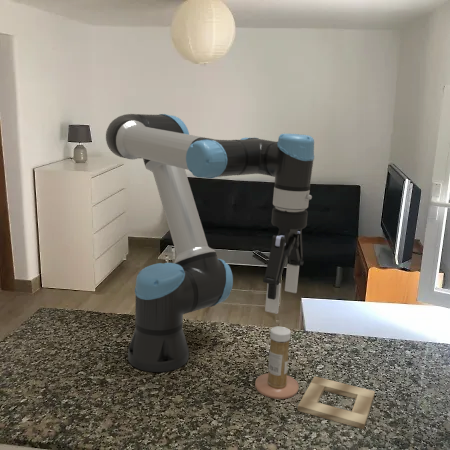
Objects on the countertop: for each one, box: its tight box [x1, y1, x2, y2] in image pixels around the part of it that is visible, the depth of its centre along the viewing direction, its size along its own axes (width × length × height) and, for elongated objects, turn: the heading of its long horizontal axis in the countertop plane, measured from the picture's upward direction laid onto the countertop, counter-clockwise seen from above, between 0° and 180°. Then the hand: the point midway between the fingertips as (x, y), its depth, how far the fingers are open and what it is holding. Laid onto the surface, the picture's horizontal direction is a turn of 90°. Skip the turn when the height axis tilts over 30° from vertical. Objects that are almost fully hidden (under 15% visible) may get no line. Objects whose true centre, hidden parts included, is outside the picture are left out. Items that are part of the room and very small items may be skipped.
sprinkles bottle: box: [267, 325, 292, 388], centre depth 119 cm, size 5×5×14 cm
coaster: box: [254, 372, 300, 400], centre depth 121 cm, size 10×10×1 cm
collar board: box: [297, 376, 376, 430], centre depth 115 cm, size 14×14×1 cm
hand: (281, 301), depth 116 cm, fingers open, 13 cm apart
